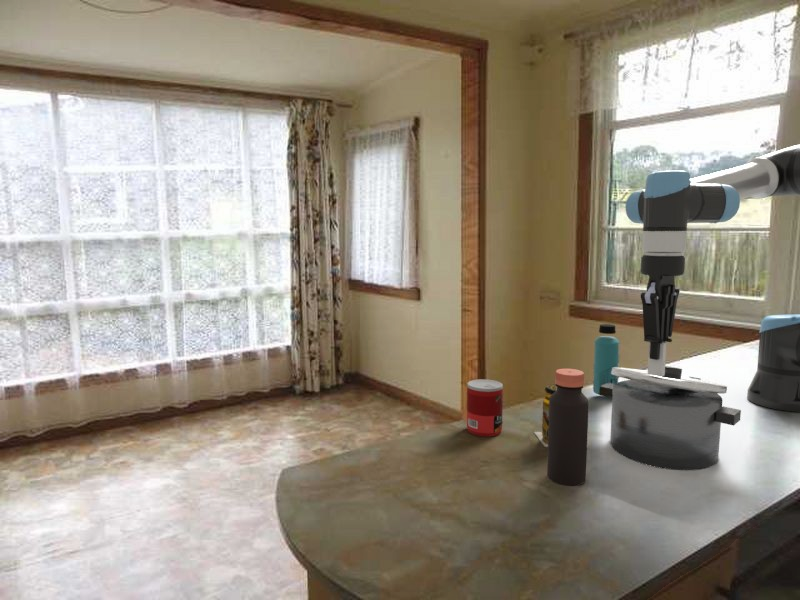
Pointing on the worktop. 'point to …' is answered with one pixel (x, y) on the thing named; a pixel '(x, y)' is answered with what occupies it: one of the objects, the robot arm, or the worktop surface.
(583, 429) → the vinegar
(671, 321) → the robot arm
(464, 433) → the worktop surface
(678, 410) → the pot
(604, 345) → the beverage bottle
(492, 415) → the canned food
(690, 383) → the lid
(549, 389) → the condiment
